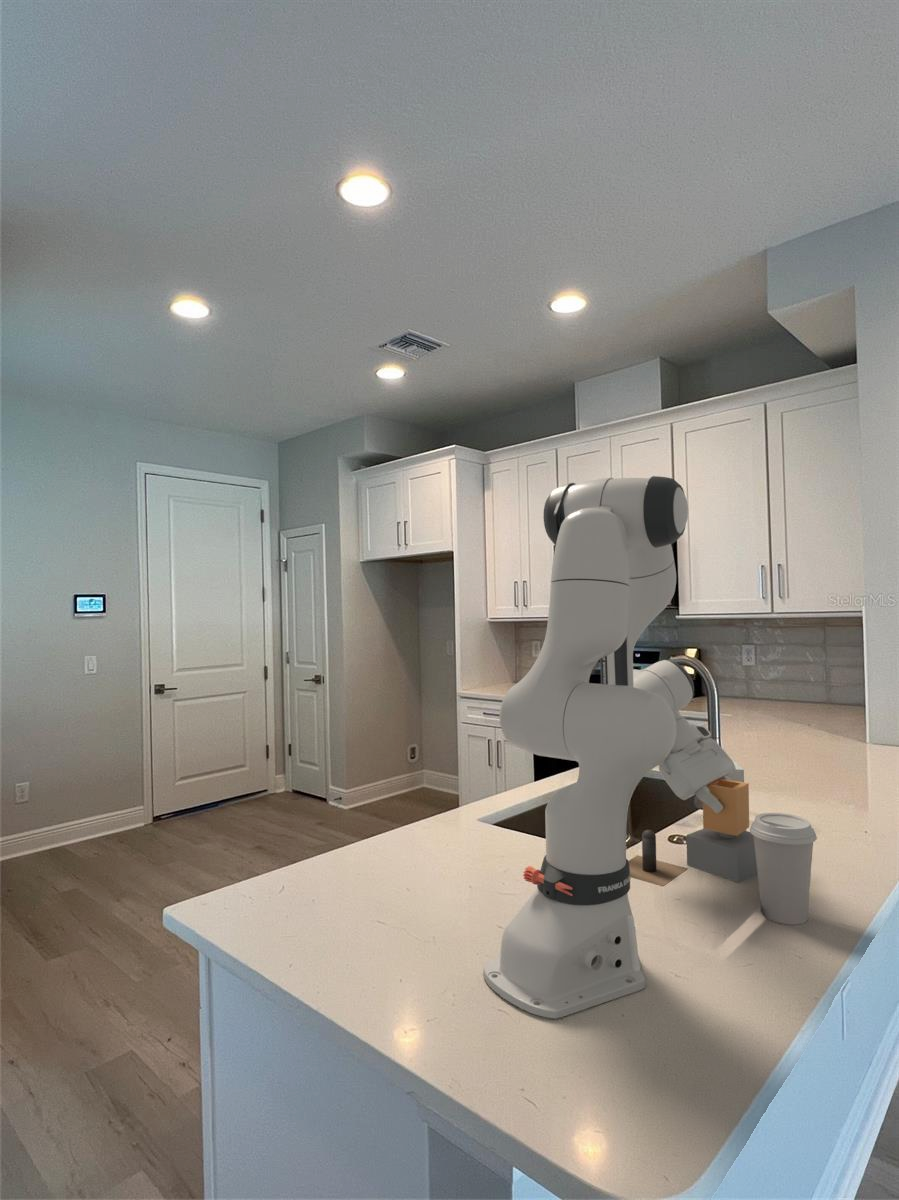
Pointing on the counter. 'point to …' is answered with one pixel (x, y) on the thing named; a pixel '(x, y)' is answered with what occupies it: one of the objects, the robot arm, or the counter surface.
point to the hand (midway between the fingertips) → (729, 805)
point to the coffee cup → (783, 865)
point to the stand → (652, 863)
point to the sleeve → (728, 807)
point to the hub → (722, 854)
